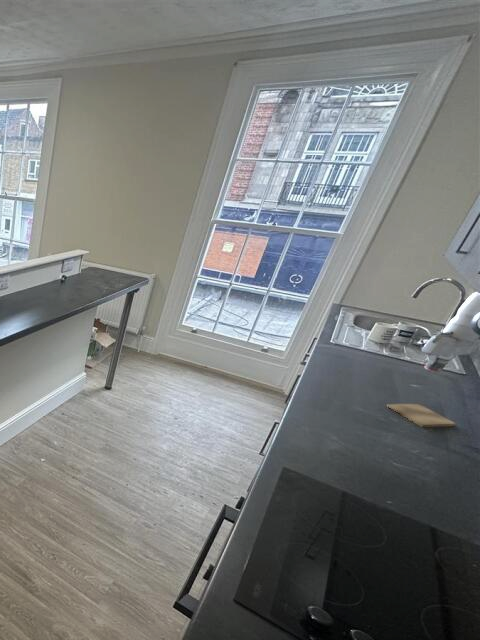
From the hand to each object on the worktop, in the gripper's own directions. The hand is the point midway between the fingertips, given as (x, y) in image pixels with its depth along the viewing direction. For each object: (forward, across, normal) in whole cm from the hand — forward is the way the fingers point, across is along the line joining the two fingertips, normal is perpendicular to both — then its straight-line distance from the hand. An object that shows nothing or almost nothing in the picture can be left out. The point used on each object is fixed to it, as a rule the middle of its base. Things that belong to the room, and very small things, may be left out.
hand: (436, 363), depth 160 cm
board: (+9, -31, -22) cm, 39 cm away
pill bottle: (+3, 0, 0) cm, 3 cm away
